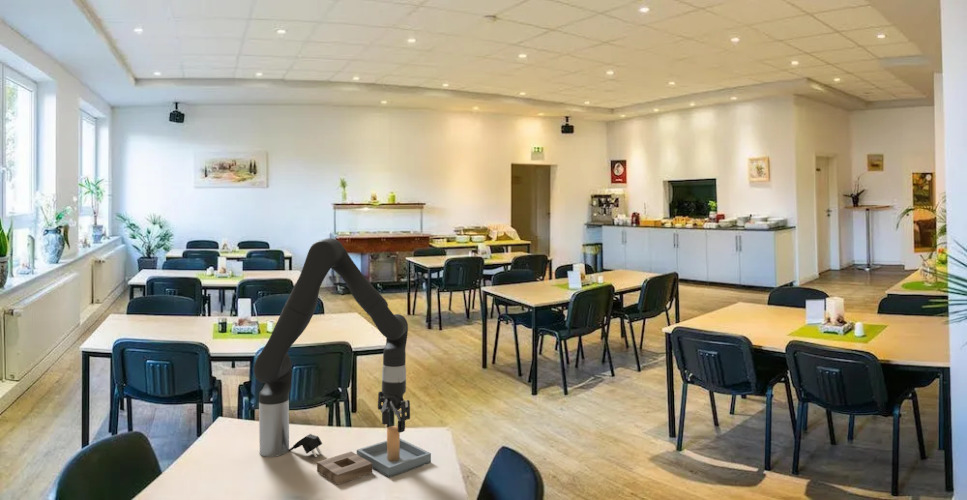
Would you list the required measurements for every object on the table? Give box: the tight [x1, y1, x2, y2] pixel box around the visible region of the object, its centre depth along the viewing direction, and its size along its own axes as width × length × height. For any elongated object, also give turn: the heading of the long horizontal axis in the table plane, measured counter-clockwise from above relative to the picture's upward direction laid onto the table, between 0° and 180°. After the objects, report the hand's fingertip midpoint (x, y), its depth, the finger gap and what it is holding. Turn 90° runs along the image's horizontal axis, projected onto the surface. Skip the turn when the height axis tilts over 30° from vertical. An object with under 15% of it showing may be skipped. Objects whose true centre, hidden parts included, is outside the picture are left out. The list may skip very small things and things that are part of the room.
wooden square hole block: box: [316, 451, 373, 486], centre depth 185 cm, size 12×12×3 cm
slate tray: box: [356, 438, 432, 478], centre depth 194 cm, size 18×16×3 cm
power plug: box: [288, 433, 323, 459], centre depth 198 cm, size 6×8×12 cm
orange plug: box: [386, 425, 401, 461], centre depth 194 cm, size 4×4×10 cm
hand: (393, 427), depth 194 cm, fingers open, 8 cm apart
